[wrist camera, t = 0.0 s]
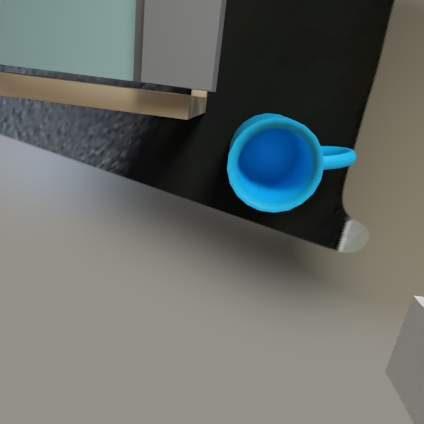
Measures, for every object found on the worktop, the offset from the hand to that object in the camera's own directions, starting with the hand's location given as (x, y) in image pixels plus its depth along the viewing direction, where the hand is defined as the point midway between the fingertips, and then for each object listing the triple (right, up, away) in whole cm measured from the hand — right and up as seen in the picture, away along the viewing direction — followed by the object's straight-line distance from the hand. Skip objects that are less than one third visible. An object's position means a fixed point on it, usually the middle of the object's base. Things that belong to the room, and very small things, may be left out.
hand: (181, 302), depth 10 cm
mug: (+9, +9, +26) cm, 29 cm away
